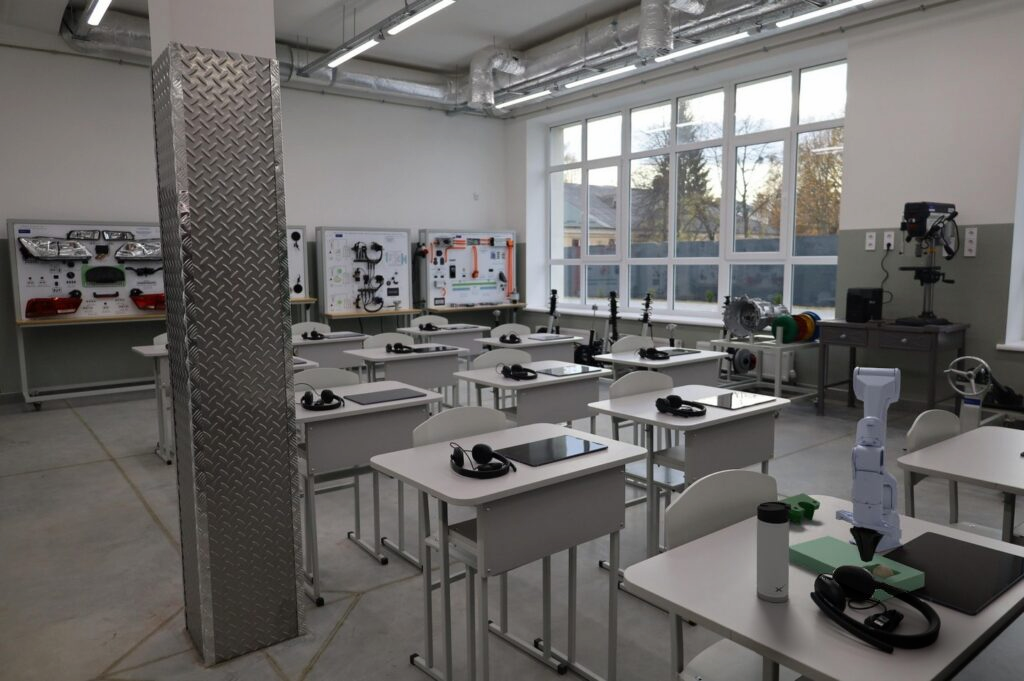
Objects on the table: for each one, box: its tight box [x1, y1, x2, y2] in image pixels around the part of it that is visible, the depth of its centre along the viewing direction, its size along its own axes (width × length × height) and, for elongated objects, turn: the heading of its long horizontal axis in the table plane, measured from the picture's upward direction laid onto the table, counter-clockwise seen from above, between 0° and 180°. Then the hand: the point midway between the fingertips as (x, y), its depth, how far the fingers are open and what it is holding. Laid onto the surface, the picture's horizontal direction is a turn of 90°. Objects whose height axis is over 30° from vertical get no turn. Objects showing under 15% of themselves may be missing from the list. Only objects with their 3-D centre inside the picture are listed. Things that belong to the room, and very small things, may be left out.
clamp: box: [777, 492, 821, 525], centre depth 185 cm, size 12×6×9 cm, turn 117°
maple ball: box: [873, 565, 894, 579], centre depth 145 cm, size 4×4×4 cm
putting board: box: [789, 535, 926, 602], centre depth 152 cm, size 24×14×3 cm, turn 25°
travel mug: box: [756, 501, 791, 603], centre depth 141 cm, size 6×7×20 cm
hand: (866, 560), depth 148 cm, fingers closed
